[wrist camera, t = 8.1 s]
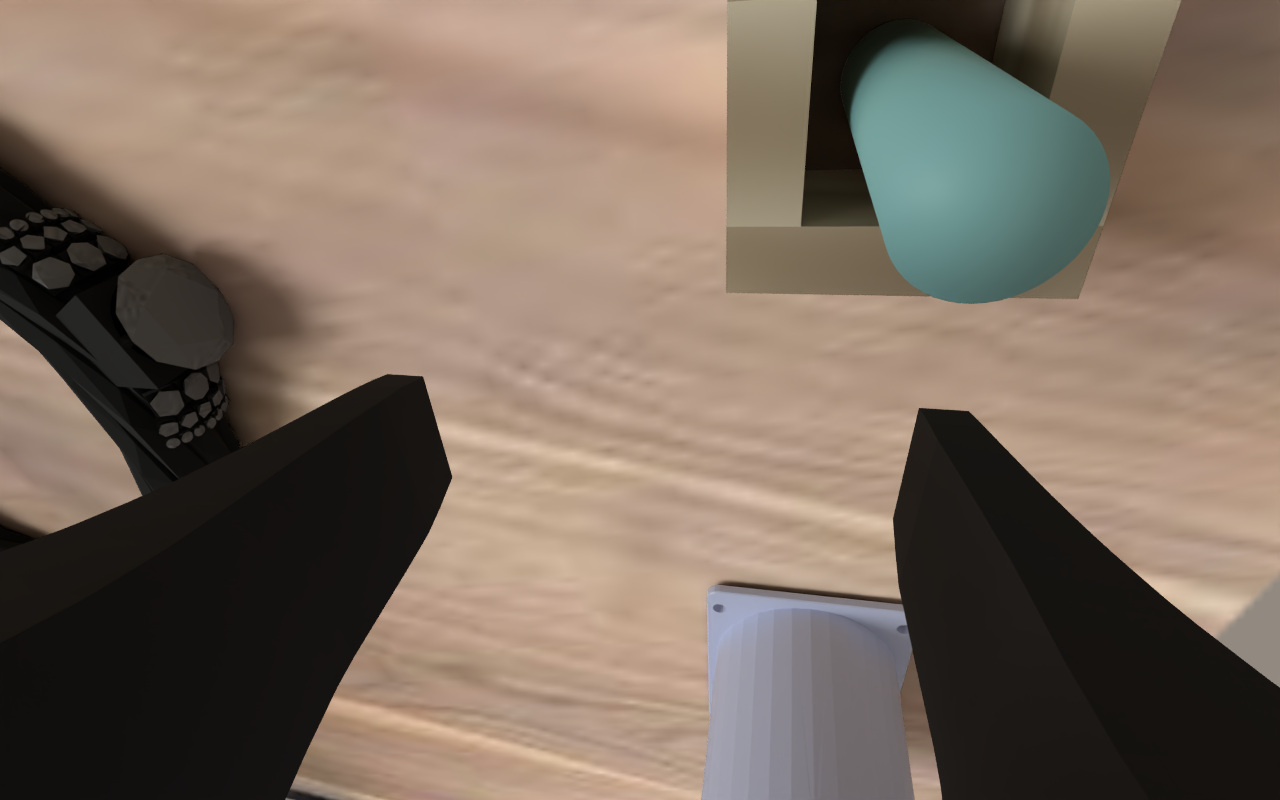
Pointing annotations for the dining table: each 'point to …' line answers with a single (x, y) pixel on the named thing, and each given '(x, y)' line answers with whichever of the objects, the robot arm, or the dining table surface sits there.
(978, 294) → the peg
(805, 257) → the beige socket block
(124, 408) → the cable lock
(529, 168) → the dining table surface
